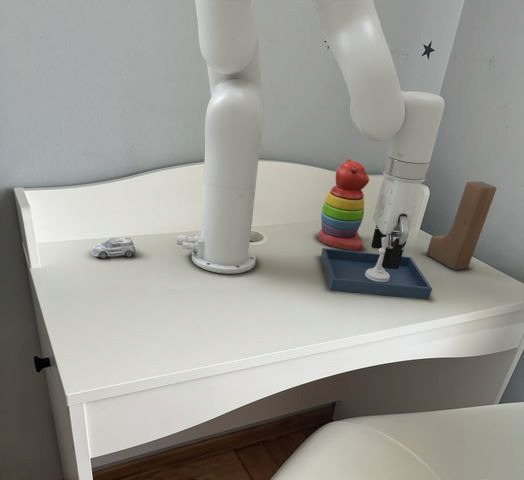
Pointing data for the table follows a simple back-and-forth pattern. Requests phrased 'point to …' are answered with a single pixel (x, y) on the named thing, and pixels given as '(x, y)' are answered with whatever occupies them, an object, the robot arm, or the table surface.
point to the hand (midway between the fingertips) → (384, 257)
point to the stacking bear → (344, 208)
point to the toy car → (114, 248)
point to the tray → (354, 280)
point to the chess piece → (379, 265)
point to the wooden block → (464, 227)
